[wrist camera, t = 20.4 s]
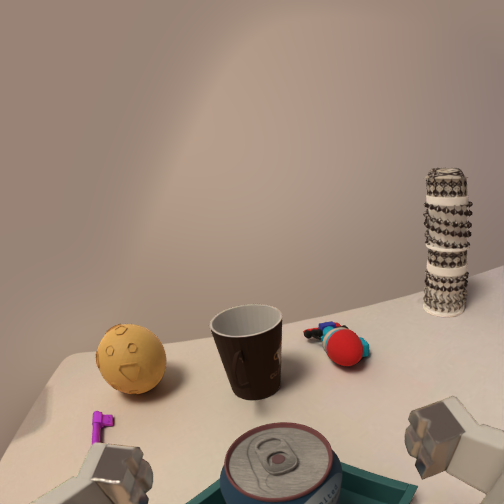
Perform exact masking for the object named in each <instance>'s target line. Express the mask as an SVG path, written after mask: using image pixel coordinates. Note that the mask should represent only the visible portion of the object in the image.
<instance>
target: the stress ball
mask: <svg viewBox="0 0 504 504" xmlns="http://www.w3.org/2000/svg"><path fill="white" fill-rule="evenodd" d="M96 364H97V367H98V368H99V370H100V372H101V374H102V376H103V378H104V379H105V380H106V382H107V383H108V384H109V385H111V386H112V387H113V388H114V389H116V390H118V391H121V392H123V393H127V394H140V393H144V392H147V391H149V390H151V389H152V388H154V387H155V386H156V385H157V384H158V383H159V382H160V380H161V379H162V377H163V375H164V373H165V369H166V354H165V350H164V347H163V345H162V343H161V342H160V340H159V339H158V338H157V337H156V335H155V334H153V333H152V332H151V331H149V330H148V329H146V328H144V327H142V326H139V325H132V324H126V325H121V324H118V325H115V326H113V327H111V328H110V329H109V330H108V331H107V332H106V333H105V336H104V337H103V339H102V340H101V342H100V344H99V347H98V351H97V352H96Z"/></svg>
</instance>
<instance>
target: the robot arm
mask: <svg viewBox="0 0 504 504" xmlns="http://www.w3.org/2000/svg"><path fill="white" fill-rule="evenodd" d="M408 420H409V422H410V423H411V424H410V425H409V427H408V428H407V429H406V432H405V445H406V448H407V451H408V453H409V455H410V456H412V457H414V458H416V459H417V460H416V463H415V466H416V468H417V470H418V472H419V474H420V476H421V478H422V480H423V479H425V478H428V477H431V476H433V475H436V474H438V473H441V472H443V471H446V472H447V473H449V474H451V475H452V476H454V477H456V478H458V479H459V480H461V481H463V482H465V483H467V484H468V485H470V486H472V487H474V488H476V489H477V490H479V491H481V492H483V493H485V494H487V495H486V496H485V498H484V499H483V500H482V502H481V503H480V504H504V431H503V430H500V429H497V428H494V427H491V426H488V425H485V424H482V425H479V424H478V423H477V422H476V420H475V419H474V418H473V417H472V415H471V414H470V413H469V412H468V411H467V409H466V408H465V407H464V406H463V404H462V403H461V402H460V401H459V400H458V399H457V397H455V396H451V397H449V398H446V399H443V400H441V401H438V402H435V403H432V404H430V405H427V406H424V407H421V408H418V409H416V410H413V411H411V413H410V415H409V419H408ZM142 457H143V452H142V451H141V449H140V447H134V446H124V445H115V444H106V443H98V442H95V443H94V444H93V445H92V446H91V448H90V450H89V452H88V454H87V456H86V458H85V460H84V462H83V464H82V466H81V468H80V471H79V473H78V475H77V477H71V478H70V479H68V480H67V481H65V482H63V483H62V484H60V485H59V486H57V487H55V488H54V489H52V490H51V491H49V492H47V493H46V494H44V495H42V496H41V497H39V498H37V499H36V500H34V501H32V502H31V503H29V504H148V500H149V498H148V497H147V495H146V492H148V491H149V490H150V489H151V488H152V484H153V472H152V469H151V466H150V464H149V463H148V462H147V461H145V460H144V459H142Z"/></svg>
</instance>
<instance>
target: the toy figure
mask: <svg viewBox="0 0 504 504" xmlns="http://www.w3.org/2000/svg"><path fill="white" fill-rule="evenodd" d="M303 332H304V336H305V337H306V338H308V339H309V338H311V337H314V338H316V339H319V340H321V341H323V347H324V350H325V351H326V353H327V355H328V357H329V358H330V359H331V360H332V361H334V362H335V363H337V364H339V365H342V366H351V365H354V364H356V363H357V362H359V361H360V359H361V358H362V357H366V356H369V344H368V343H367V342H366V341H365V340H364V339H363V338H361V337H358V336H357V334H356V333H354V332H353V331H351V330H349V329H348V327H346V326H345V325H343V326H341V325H340V324H339V323H334V322H325V323H320V324H319V328H312V329H307V330H305V331H303ZM320 337H321V338H320Z"/></svg>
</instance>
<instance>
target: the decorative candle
mask: <svg viewBox="0 0 504 504" xmlns="http://www.w3.org/2000/svg"><path fill="white" fill-rule="evenodd" d="M425 178H426V181H427V195H426V200H427V201H426V203H424V206H425V207H427V208H428V209H427V210H425V212H424V214H423V215H424V216H425V217H426V219H425V222H424V225H425V226H426V227H427V228H428V230H426V233H425V236H426V237H427V239H426V242H425V243H426V246H427V247H428V248H429V251H428V261H427V269H426V271H425V274H426V279H425V283H426V285H427V286H426V287H425V288H424V293H425V296H424V298H423V300H424V305H423V307H424V309H425V311H426V312H428V313H429V314H431V315H434V316H438V317H454V316H457V315H460V314H461V313H462V312H463V311H464V307H465V305H464V304H465V303H466V302H465V301H466V298H465V297H466V296H467V294H466V293H467V290H466V289H465V287H466V286H467V283H468V281H467V280H466V279H467V278H468V274H469V273H468V272H467V249H469V248H470V243H469V242H467V237H470V236H471V232H470V231H467V228H470V227H471V226H472V224H471V223H470V222H469V221H468V222H467V216H471V215H472V211H470V210H469V211H468V210H467V207H468V206H469V207H471V206H472V202H469V201H468V195H467V178H468V177H465V176H464V174H463V172H462V171H461V170H460V169H459V168H434V169H431V170H430V171H429V173H428V175H427V177H425Z"/></svg>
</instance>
